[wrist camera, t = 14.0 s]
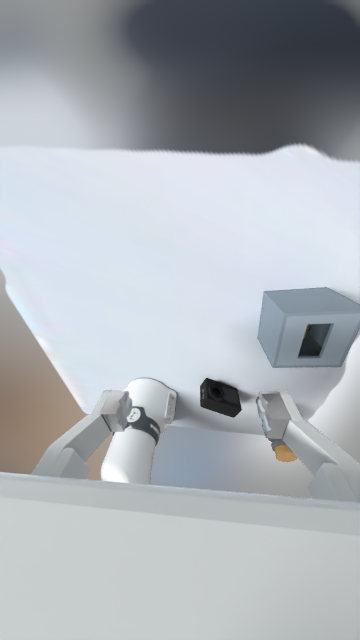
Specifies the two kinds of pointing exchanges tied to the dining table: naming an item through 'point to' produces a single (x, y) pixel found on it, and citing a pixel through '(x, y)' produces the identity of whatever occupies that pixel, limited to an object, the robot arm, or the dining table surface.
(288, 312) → the box
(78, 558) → the robot arm
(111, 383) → the dining table surface
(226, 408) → the digital camera
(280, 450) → the bottle
